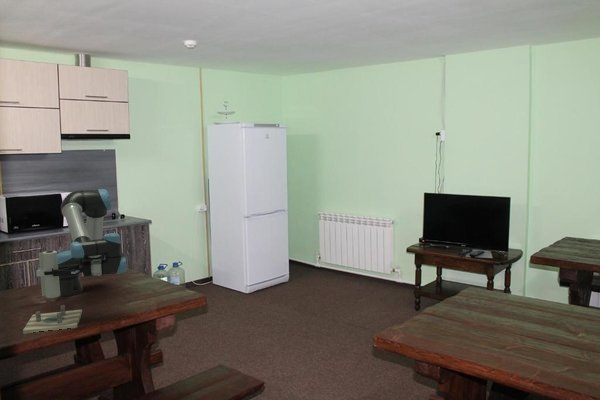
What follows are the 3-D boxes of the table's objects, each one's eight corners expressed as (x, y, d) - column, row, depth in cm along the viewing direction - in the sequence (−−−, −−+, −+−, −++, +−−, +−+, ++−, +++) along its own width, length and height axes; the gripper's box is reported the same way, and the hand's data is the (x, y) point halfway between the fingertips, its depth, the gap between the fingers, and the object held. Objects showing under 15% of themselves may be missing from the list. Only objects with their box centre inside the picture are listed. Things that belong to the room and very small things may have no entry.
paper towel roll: (63, 295, 237) (59, 251, 235) (50, 299, 232) (46, 253, 230) (54, 293, 241) (51, 249, 239) (42, 296, 236) (38, 251, 234)
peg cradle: (33, 317, 245) (32, 305, 244) (82, 312, 252) (81, 300, 251) (23, 333, 224) (21, 320, 224) (76, 327, 231) (76, 315, 230)
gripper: (91, 280, 233) (34, 285, 226) (94, 271, 248) (41, 276, 242) (90, 264, 232) (33, 268, 225) (93, 256, 248) (40, 260, 241)
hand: (37, 272), depth 233 cm, fingers closed on paper towel roll, 3 cm apart
